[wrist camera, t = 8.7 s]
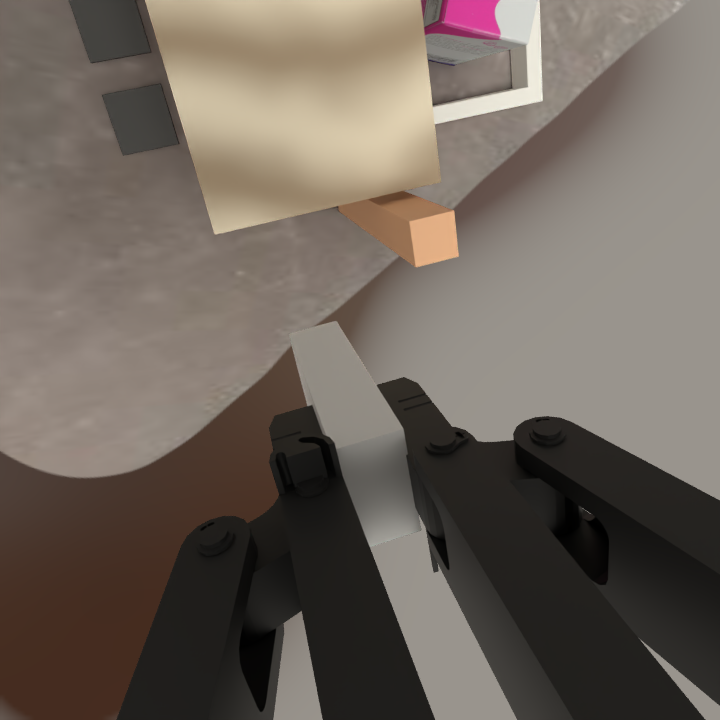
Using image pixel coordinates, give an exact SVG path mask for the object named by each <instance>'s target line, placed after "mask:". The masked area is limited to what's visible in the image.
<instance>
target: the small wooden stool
mask: <svg viewBox="0 0 720 720" xmlns="http://www.w3.org/2000/svg"><path fill="white" fill-rule="evenodd" d="M145 2H146V6H147V9H148V12H149V16H150V19H151V22H152V26H153V29H154V32H155V36H156V39H157V43H158V46H159V49H160V53H161V56H162V59H163V63H164V66H165V69H166V73H167V76H168V79H169V83H170V86H171V90H172V93H173V96H174V100H175V103H176V106H177V110H178V113H179V116H180V120H181V123H182V127H183V130H184V133H185V137H186V140H187V143H188V147H189V150H190V153H191V157H192V160H193V163H194V167H195V170H196V174H197V177H198V180H199V184H200V187H201V190H202V194H203V197H204V200H205V204H206V207H207V210H208V214H209V217H210V221H211V224H212V227H213V231H214V234H215V235H216V234H220V233H224V232H229V231H233V230H237V229H241V228H246V227H250V226H254V225H259V224H263V223H267V222H271V221H276V220H280V219H284V218H289V217H293V216H297V215H301V214H306V213H310V212H314V211H319V210H323V209H327V208H332V207H336V206H340V205H344V204H349V203H353V202H357V201H362V200H366V199H370V198H374V197H379V196H383V195H387V194H392V193H396V192H400V191H405V190H409V189H413V188H417V187H422V186H426V185H430V184H435V183H439V182H441V177H440V168H439V159H438V150H437V141H436V132H435V123H434V114H433V105H432V96H431V87H430V78H429V69H428V60H427V51H426V42H425V33H424V24H423V15H422V6H421V0H145Z"/></svg>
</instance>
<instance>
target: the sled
mask: <svg viewBox="0 0 720 720" xmlns="http://www.w3.org/2000/svg"><path fill="white" fill-rule="evenodd" d="M510 54H511V73H512V89H508V90H503V91H498V92H493V93H489V94H484V95H479V96H474V97H470V98H465V99H460V100H455V101H451V102H446V103H441V104H437V105H433V114H434V123H435V124H438V123H443V122H447V121H452V120H457V119H461V118H466V117H471V116H475V115H480V114H484V113H489V112H494V111H498V110H503V109H508V108H512V107H517V106H521V105H526V104H531V103H535V102H540V101H543V98H542V66H541V34H540V1H539V0H538V2H537V6H536V11H535V15H534V20H533V24H532V29H531V34H530V38H529V43H528V44H527V45H524V46H521V47H517V48H514V49H510ZM338 209H339V212H341V213H342V214H343V215H345V216H346V217H348V218H349V219H350V220H352V221H353V222H354V223H356V224H357V225H358V226H360V227H361V228H363V229H364V230H365V231H367V232H368V233H369V234H371V235H372V236H374V237H375V238H376V239H378V240H379V241H380V242H382V243H383V244H384V245H386V246H387V247H389V248H390V249H391V250H393V251H394V252H395V253H397V254H398V255H400V256H401V257H402V258H404V259H405V260H406V261H408V262H409V263H410V264H412V265H413V266H415V267H419V266H423V265H427V264H431V263H434V262H439V261H443V260H447V259H450V258H454V257H458V256H459V254H458V245H457V235H456V225H455V216H454V211H453V210H451V209H448V208H446V207H443V206H441V205H438V204H435V203H433V202H430V201H428V200H425V199H422V198H420V197H417V196H415V195H412V194H409V193H407V192H404V191H400V192H396V193H392V194H387V195H383V196H379V197H374V198H370V199H366V200H362V201H357V202H353V203H349V204H344V205H340V206H338Z"/></svg>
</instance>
